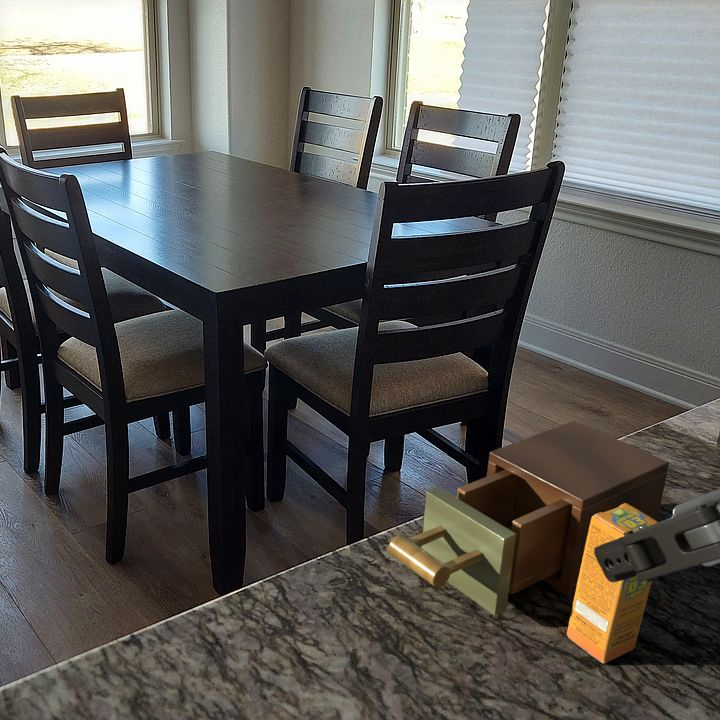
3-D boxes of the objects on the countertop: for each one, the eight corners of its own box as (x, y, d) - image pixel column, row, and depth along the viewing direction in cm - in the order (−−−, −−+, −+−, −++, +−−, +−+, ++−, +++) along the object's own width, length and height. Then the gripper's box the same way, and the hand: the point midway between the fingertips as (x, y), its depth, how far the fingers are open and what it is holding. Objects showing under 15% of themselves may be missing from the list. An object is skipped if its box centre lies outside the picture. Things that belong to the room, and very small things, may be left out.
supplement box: (606, 668, 55) (631, 538, 52) (564, 637, 58) (585, 511, 55) (640, 651, 57) (667, 524, 53) (598, 622, 60) (621, 498, 56)
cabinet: (567, 596, 62) (583, 500, 59) (479, 539, 69) (489, 451, 66) (651, 552, 67) (669, 462, 64) (561, 503, 74) (574, 420, 71)
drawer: (444, 641, 57) (452, 562, 54) (371, 584, 63) (376, 510, 60) (579, 573, 63) (591, 500, 61) (502, 526, 69) (510, 458, 67)
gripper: (945, 356, 43) (695, 460, 57) (775, 417, 37) (540, 517, 51) (1039, 495, 41) (755, 569, 54) (875, 585, 35) (600, 642, 48)
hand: (651, 544), depth 52 cm, fingers open, 8 cm apart
